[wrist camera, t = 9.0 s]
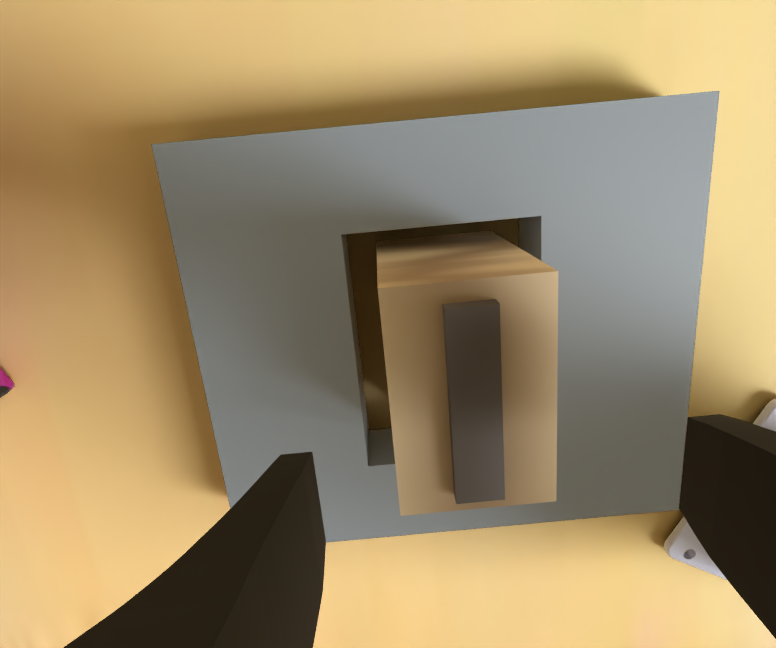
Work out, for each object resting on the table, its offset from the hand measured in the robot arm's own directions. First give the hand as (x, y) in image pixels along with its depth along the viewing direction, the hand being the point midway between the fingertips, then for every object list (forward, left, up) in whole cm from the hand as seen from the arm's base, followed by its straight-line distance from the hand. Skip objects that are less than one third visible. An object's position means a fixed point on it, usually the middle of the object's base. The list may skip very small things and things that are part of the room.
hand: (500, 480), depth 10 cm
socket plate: (0, 0, -10) cm, 10 cm away
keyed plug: (0, 0, -10) cm, 10 cm away
